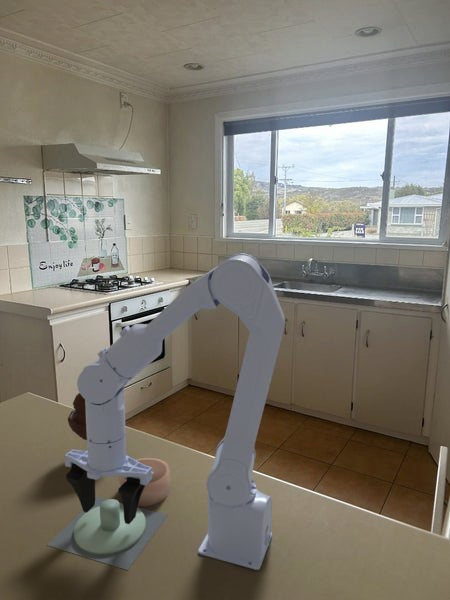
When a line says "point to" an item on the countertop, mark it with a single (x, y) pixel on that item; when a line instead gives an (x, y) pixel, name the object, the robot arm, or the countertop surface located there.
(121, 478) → the dish
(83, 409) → the ice cream bowl
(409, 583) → the countertop surface
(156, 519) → the placemat
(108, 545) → the lid
